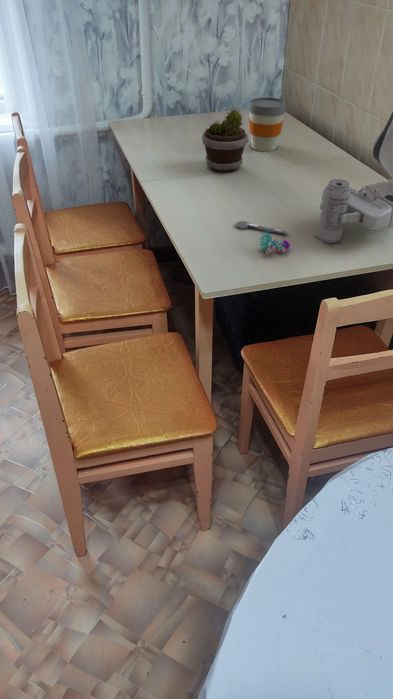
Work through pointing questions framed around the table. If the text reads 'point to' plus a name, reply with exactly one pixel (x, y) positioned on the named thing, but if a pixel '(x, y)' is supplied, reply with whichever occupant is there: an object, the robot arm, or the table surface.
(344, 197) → the energy drink can
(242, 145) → the flowerpot
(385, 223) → the robot arm
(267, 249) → the anatomy model
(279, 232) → the grey flat-headed rod tool
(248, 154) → the table surface
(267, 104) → the reusable coffee cup
